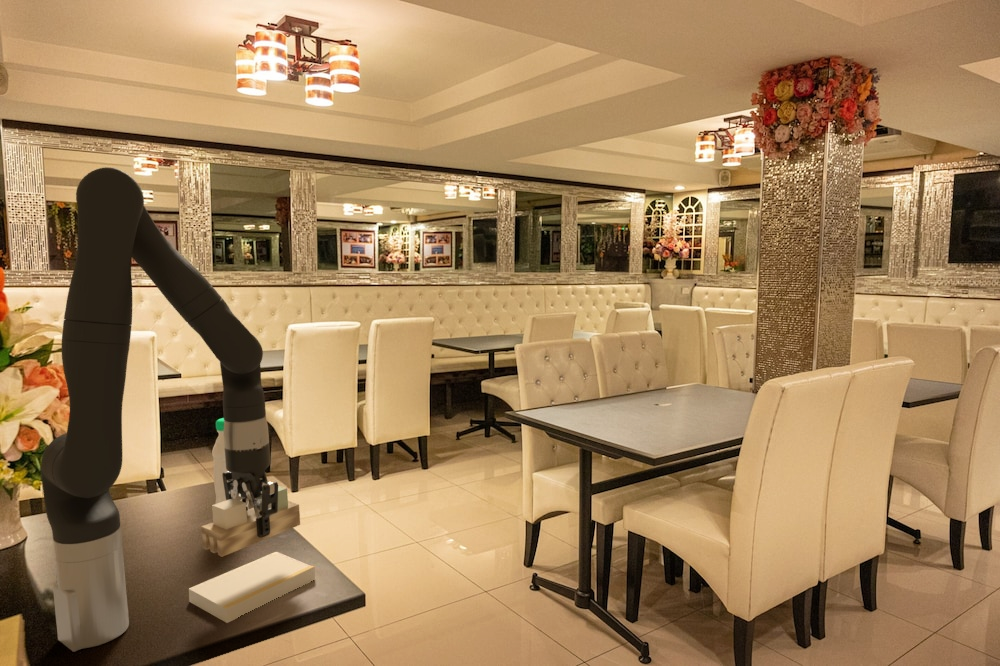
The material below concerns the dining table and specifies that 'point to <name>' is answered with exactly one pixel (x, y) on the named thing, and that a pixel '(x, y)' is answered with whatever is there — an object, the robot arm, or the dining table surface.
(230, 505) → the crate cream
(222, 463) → the water bottle
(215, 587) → the dock
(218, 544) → the pallet
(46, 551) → the dining table surface
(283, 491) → the block
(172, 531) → the dining table surface
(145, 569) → the dining table surface
